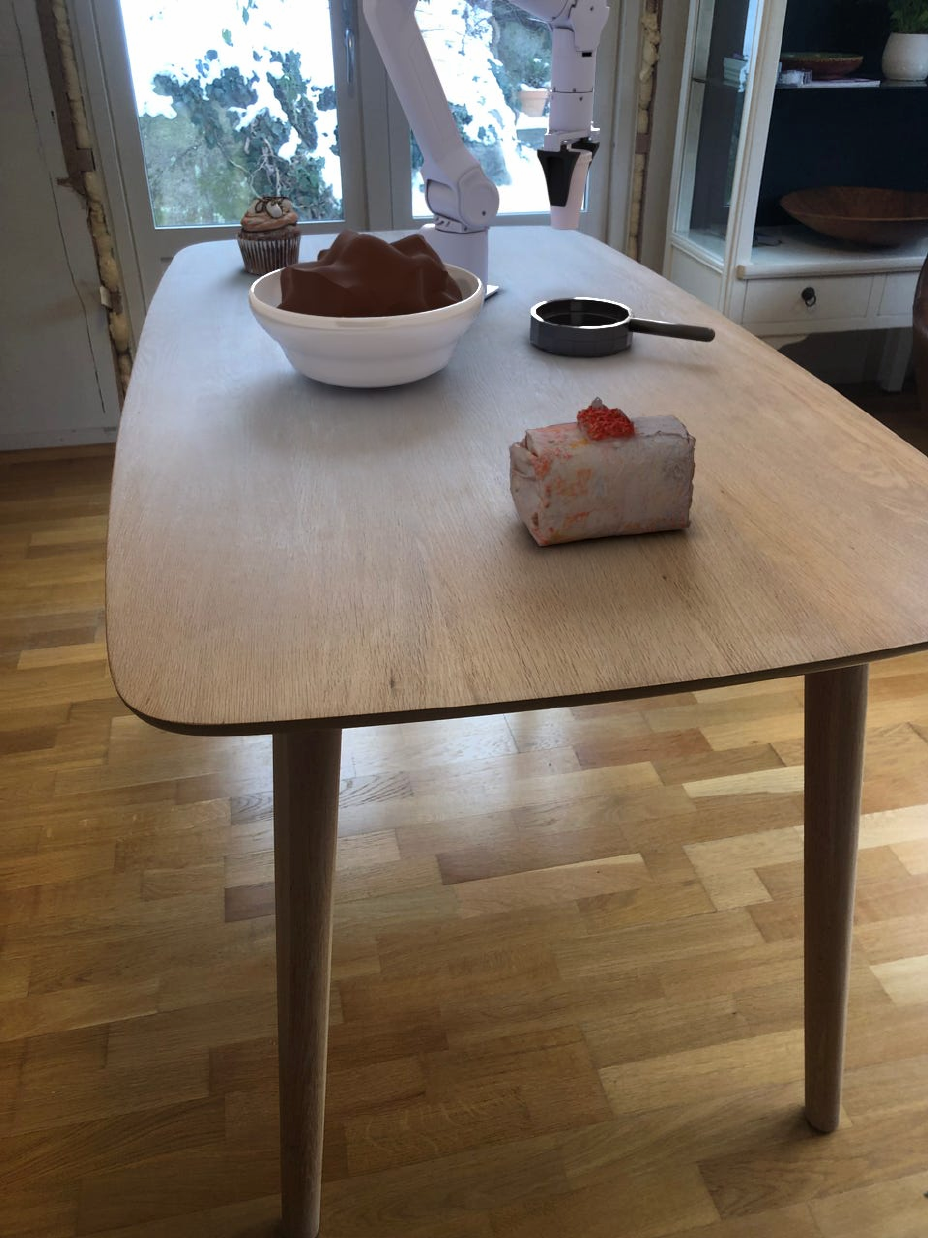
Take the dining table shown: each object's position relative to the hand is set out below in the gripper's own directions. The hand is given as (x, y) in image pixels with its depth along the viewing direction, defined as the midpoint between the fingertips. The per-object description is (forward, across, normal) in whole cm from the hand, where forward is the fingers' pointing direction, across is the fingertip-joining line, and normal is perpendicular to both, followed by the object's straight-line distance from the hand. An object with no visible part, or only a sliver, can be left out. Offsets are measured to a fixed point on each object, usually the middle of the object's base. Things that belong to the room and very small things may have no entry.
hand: (565, 201), depth 133 cm
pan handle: (+8, -26, -22) cm, 35 cm away
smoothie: (+4, 0, 0) cm, 4 cm away
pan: (+10, -26, -12) cm, 30 cm away
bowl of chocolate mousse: (+11, -46, +6) cm, 47 cm away
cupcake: (+11, -12, +42) cm, 45 cm away
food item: (+11, -69, -28) cm, 75 cm away
